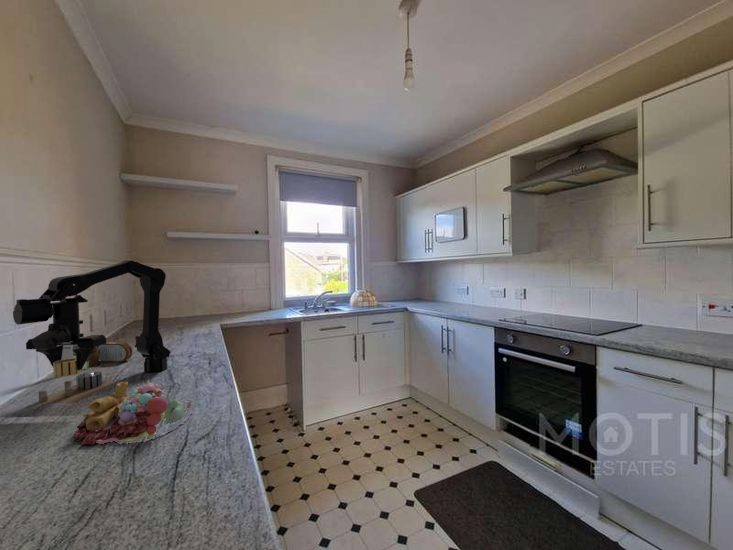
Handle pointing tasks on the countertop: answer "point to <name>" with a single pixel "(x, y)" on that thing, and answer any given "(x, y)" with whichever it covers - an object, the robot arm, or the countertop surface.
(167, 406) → the candy landscape model
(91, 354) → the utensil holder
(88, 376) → the gear
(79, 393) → the board
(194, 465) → the countertop surface
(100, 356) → the tin
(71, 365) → the brass gear
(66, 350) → the syrup box
